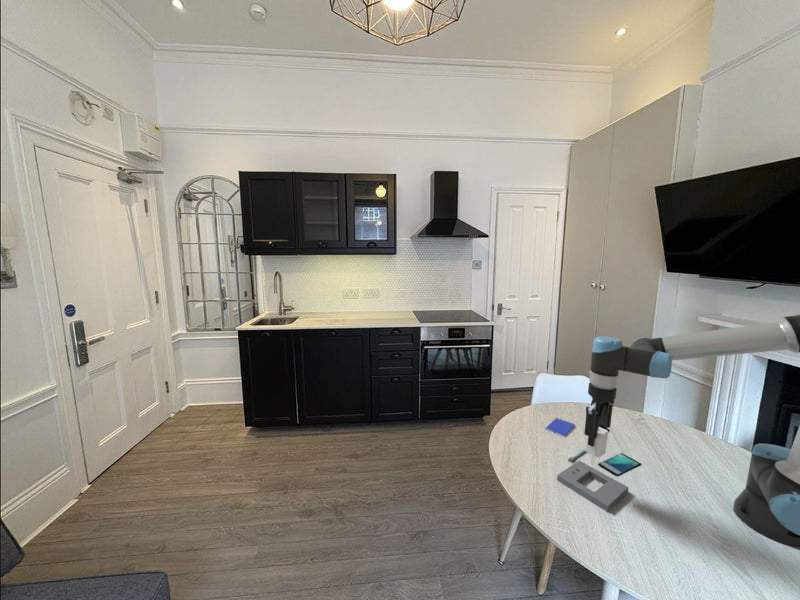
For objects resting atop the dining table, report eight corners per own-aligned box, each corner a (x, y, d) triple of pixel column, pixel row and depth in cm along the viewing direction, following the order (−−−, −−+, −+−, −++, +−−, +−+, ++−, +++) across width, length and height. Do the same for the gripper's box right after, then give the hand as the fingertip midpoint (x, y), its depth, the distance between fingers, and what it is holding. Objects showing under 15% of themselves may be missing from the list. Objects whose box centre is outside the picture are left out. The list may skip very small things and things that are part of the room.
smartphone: (596, 463, 117) (621, 452, 124) (596, 465, 118) (621, 454, 124) (616, 476, 111) (641, 463, 117) (616, 478, 111) (641, 465, 117)
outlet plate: (627, 492, 104) (628, 486, 103) (607, 511, 96) (607, 505, 96) (578, 465, 117) (579, 459, 117) (557, 480, 110) (557, 474, 109)
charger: (605, 453, 104) (608, 430, 103) (598, 457, 102) (601, 434, 100) (591, 445, 108) (593, 423, 106) (584, 450, 106) (586, 427, 104)
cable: (589, 450, 126) (589, 448, 126) (571, 462, 119) (571, 460, 119) (586, 448, 127) (586, 446, 127) (568, 460, 120) (568, 458, 120)
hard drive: (556, 417, 149) (545, 427, 140) (574, 424, 143) (564, 435, 135) (555, 420, 149) (544, 430, 141) (574, 427, 143) (564, 438, 135)
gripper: (603, 375, 109) (596, 437, 112) (575, 386, 99) (569, 454, 103) (628, 382, 102) (620, 448, 106) (601, 396, 93) (593, 467, 97)
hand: (595, 450), depth 105 cm, fingers closed on charger, 4 cm apart
